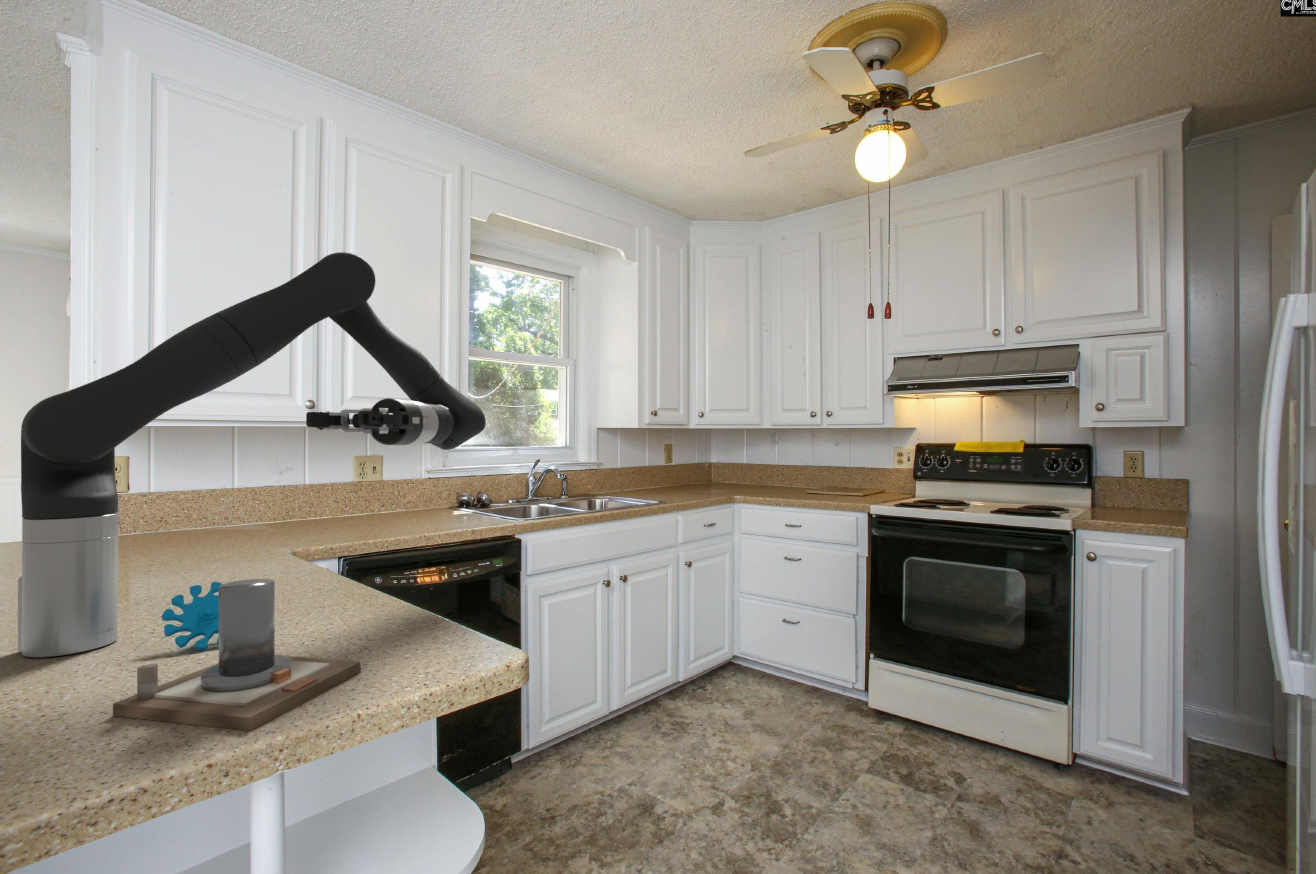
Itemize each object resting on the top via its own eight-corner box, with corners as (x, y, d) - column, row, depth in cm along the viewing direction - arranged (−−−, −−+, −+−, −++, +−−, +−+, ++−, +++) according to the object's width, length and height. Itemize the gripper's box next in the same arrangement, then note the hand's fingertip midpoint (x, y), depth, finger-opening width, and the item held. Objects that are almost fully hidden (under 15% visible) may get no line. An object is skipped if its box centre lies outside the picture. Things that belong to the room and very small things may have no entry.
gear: (151, 646, 77) (172, 577, 84) (153, 670, 80) (173, 602, 87) (256, 644, 82) (268, 580, 89) (254, 666, 85) (266, 603, 92)
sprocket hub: (180, 689, 63) (180, 591, 64) (248, 662, 71) (248, 574, 71) (252, 696, 62) (252, 594, 62) (314, 667, 69) (313, 577, 69)
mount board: (112, 715, 61) (112, 672, 61) (245, 662, 75) (245, 627, 75) (249, 730, 57) (249, 685, 57) (360, 672, 72) (360, 635, 72)
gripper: (367, 400, 105) (291, 393, 89) (443, 398, 102) (378, 390, 86) (367, 445, 105) (291, 445, 89) (443, 444, 102) (378, 445, 86)
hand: (334, 418), depth 88 cm, fingers open, 8 cm apart
